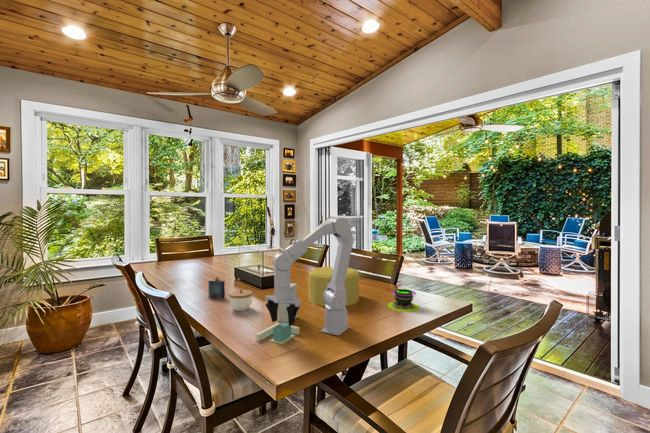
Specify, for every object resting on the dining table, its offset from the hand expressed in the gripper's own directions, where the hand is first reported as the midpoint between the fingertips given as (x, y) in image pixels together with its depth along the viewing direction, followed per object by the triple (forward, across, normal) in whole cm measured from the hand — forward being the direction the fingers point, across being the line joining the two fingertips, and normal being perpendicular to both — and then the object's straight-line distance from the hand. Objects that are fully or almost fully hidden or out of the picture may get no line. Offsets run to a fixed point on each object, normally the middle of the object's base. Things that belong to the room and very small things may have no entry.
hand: (282, 323), depth 118 cm
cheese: (+6, -7, +53) cm, 54 cm away
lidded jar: (+6, -37, +17) cm, 41 cm away
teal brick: (+5, 0, 0) cm, 5 cm away
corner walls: (+6, -2, 0) cm, 6 cm away
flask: (+6, -62, +25) cm, 67 cm away
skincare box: (+6, -10, +17) cm, 21 cm away
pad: (+6, 0, 0) cm, 6 cm away
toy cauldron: (+7, +28, +58) cm, 65 cm away
